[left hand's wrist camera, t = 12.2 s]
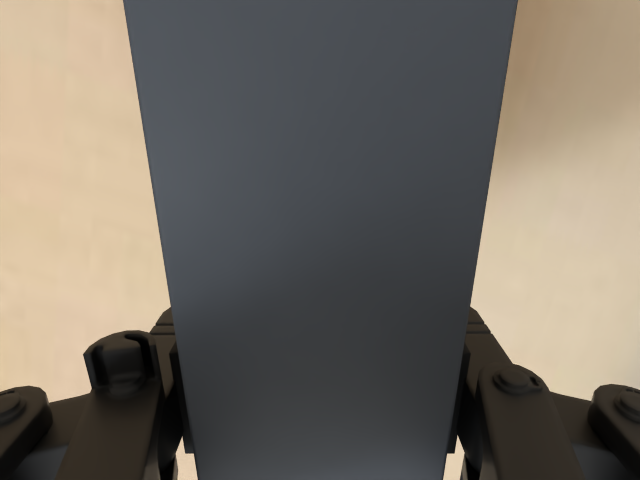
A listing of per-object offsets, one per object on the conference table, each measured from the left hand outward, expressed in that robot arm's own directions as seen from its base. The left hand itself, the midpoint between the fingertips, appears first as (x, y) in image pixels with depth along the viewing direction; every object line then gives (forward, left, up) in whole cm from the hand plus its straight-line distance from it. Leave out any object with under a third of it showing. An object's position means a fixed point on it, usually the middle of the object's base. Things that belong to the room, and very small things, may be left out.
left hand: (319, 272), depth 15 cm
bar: (+7, -5, -1) cm, 9 cm away
